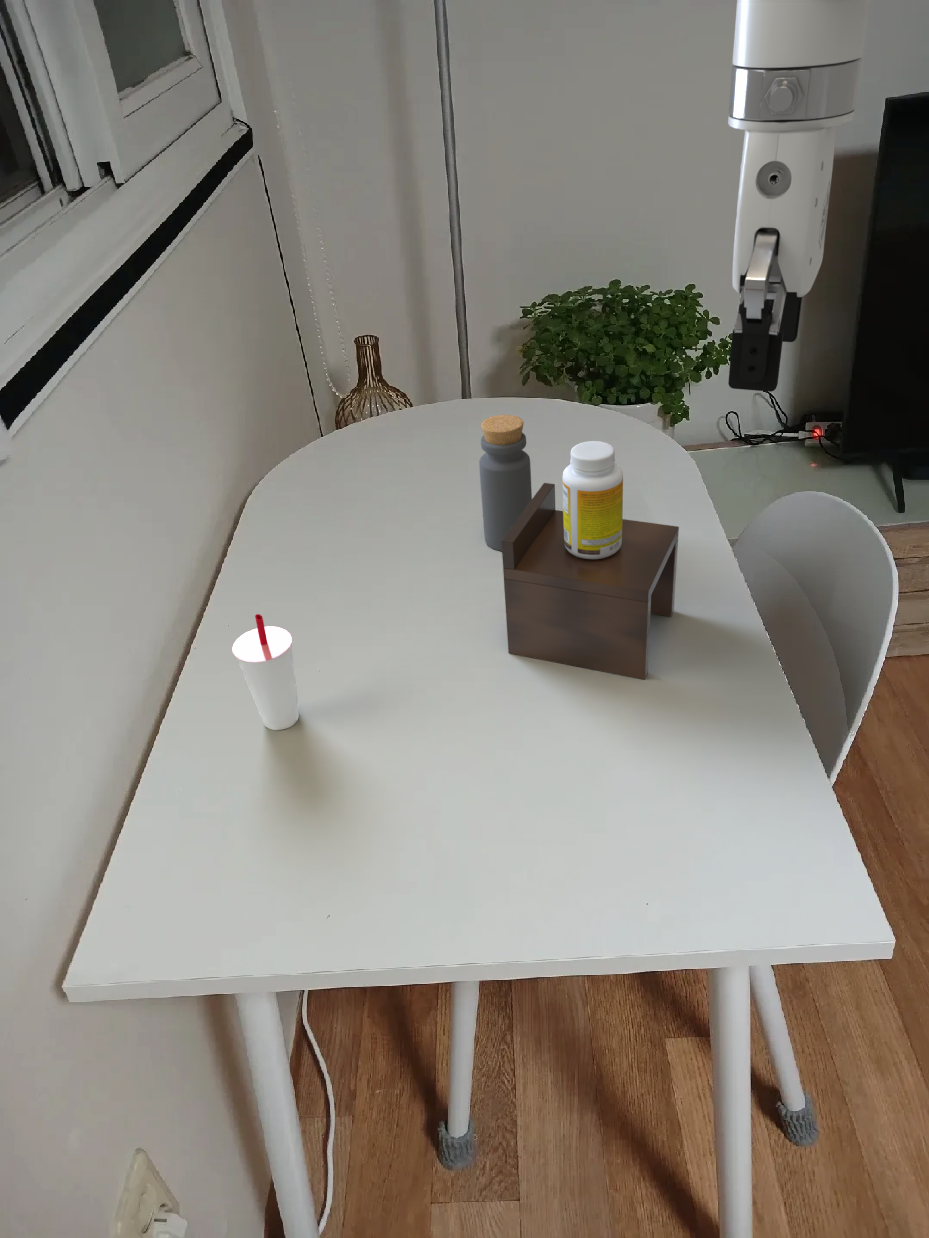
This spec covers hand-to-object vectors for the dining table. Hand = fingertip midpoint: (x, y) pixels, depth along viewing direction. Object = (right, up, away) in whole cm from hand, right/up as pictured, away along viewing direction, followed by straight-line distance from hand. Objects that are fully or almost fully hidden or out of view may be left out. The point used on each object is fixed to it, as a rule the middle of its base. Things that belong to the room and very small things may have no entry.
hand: (764, 363), depth 69 cm
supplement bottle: (-9, -12, +23) cm, 28 cm away
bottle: (-16, -9, +46) cm, 49 cm away
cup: (-39, -28, +22) cm, 53 cm away
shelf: (-8, -20, +29) cm, 36 cm away
